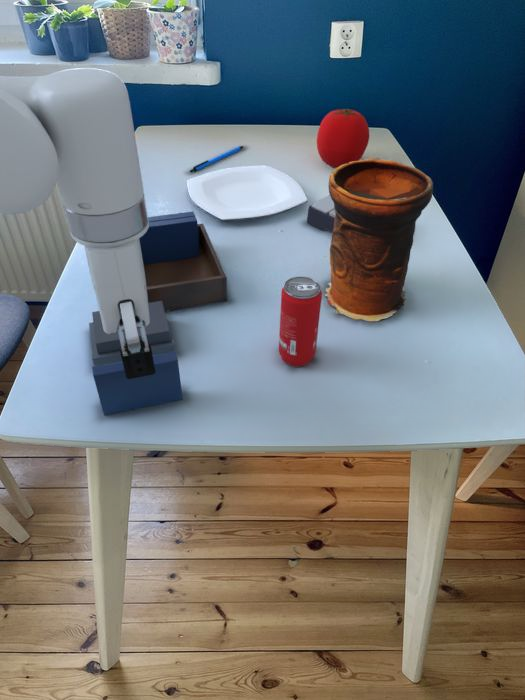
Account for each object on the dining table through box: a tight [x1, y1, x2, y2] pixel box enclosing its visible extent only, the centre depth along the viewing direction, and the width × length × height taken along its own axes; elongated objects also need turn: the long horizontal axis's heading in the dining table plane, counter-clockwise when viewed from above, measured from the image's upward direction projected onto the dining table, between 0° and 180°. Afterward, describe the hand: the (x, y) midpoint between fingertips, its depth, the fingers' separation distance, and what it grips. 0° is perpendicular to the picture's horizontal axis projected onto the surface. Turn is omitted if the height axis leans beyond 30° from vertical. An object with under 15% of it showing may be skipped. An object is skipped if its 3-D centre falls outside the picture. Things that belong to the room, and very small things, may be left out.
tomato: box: [316, 108, 370, 169], centre depth 122 cm, size 12×12×13 cm
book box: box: [144, 223, 228, 312], centre depth 89 cm, size 13×17×5 cm
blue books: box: [139, 211, 200, 265], centre depth 92 cm, size 10×3×7 cm, turn 107°
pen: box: [189, 145, 245, 173], centre depth 127 cm, size 1×19×1 cm, turn 143°
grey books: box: [88, 301, 176, 367], centre depth 77 cm, size 11×8×4 cm
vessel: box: [324, 157, 434, 322], centre depth 81 cm, size 14×14×20 cm
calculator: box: [306, 194, 336, 233], centre depth 103 cm, size 11×4×15 cm
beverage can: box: [278, 276, 323, 368], centre depth 72 cm, size 5×5×12 cm
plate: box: [186, 164, 309, 221], centre depth 112 cm, size 23×23×2 cm
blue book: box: [91, 351, 184, 416], centre depth 67 cm, size 10×2×7 cm, turn 107°
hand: (135, 346), depth 63 cm, fingers open, 9 cm apart
